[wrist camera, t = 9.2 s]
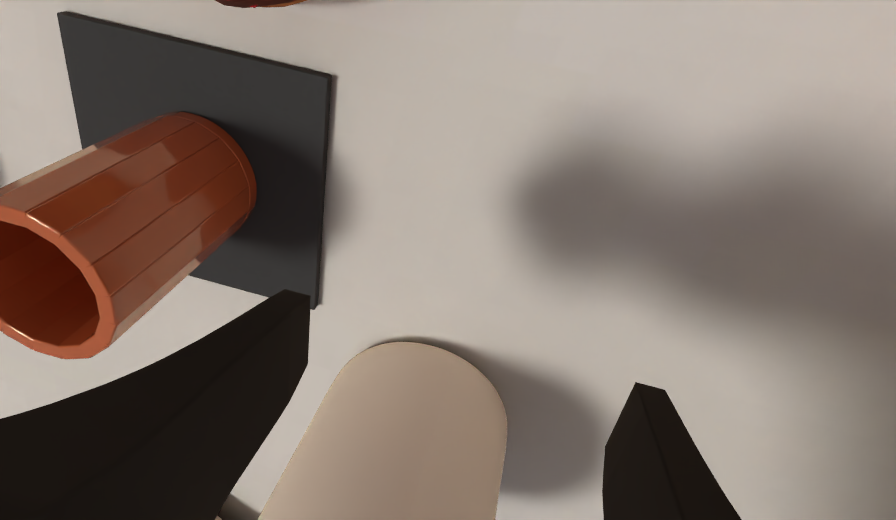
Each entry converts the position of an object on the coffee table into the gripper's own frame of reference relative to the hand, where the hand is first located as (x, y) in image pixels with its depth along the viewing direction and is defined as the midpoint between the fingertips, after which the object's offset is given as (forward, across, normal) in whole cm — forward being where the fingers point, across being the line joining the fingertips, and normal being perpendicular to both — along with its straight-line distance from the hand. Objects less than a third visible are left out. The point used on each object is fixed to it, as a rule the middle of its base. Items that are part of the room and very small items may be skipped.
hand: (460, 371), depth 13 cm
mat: (+9, +12, +2) cm, 15 cm away
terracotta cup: (+9, +12, +2) cm, 15 cm away
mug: (+10, +3, +13) cm, 16 cm away
